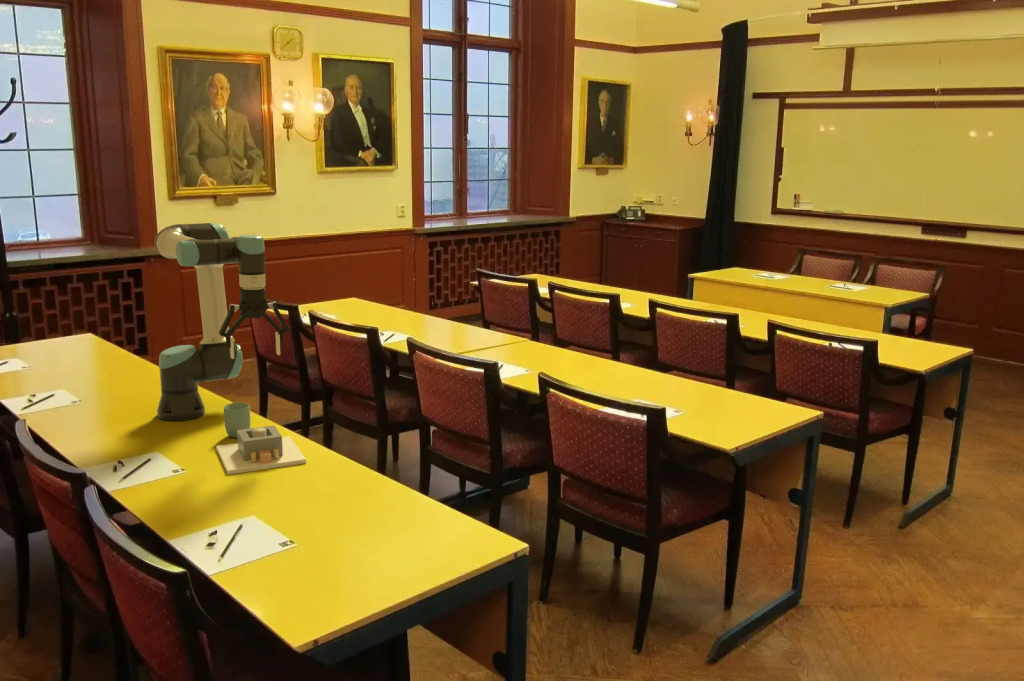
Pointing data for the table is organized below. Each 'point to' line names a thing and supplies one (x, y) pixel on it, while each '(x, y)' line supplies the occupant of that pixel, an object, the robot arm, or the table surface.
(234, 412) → the cup
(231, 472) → the post block
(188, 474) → the table surface
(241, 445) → the grey hollow box
